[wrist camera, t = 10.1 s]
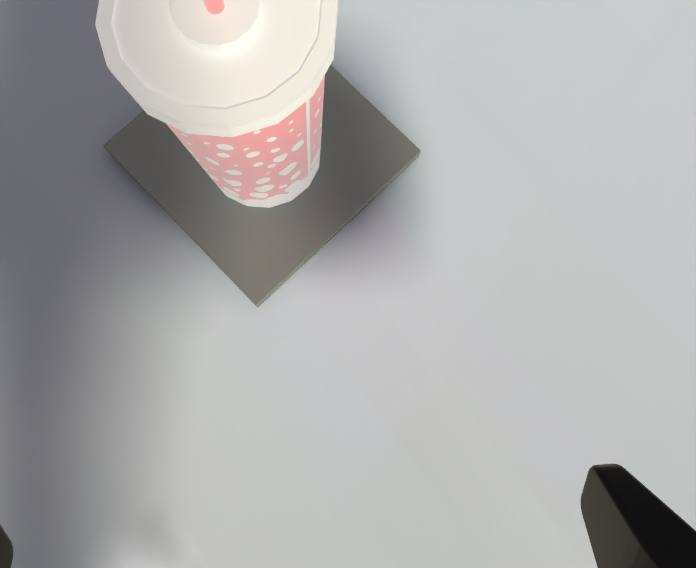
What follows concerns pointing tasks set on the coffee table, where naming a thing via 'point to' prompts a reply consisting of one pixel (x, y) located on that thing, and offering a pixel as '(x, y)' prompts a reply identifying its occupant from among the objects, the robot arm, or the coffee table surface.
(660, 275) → the coffee table surface
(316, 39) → the beverage cup
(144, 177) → the coaster
